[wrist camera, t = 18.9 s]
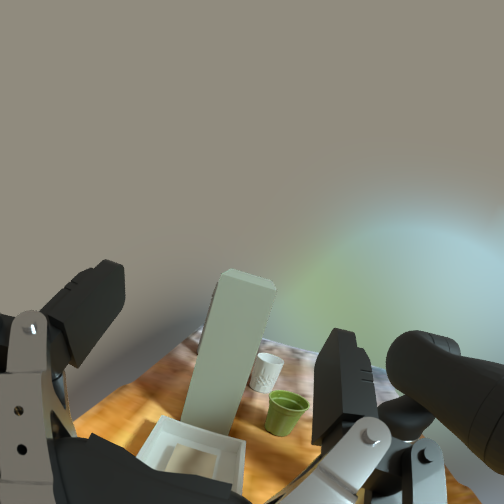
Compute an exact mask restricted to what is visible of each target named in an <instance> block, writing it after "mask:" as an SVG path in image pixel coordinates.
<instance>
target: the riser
mask: <svg viewBox="0 0 504 504" xmlns="http://www.w3.org/2000/svg"><path fill="white" fill-rule="evenodd" d="M276 292H277V289H276V288H275V285H274V283H273V281H272V280H269V279H265V278H262V277H259V276H255V275H252V274H249V273H246V272H242V271H239V270H236V269H233V268H232V269H230V270H228V271H226V272H224V273H222V274H221V276H220V280H219V283H218V286H217V290H216V293H215V297H214V300H213V304H212V307H211V310H210V314H209V317H208V321H207V324H206V328H205V332H204V335H203V339H202V342H201V346H200V349H199V353H198V357H197V360H196V364H195V367H194V371H193V375H192V378H191V382H190V386H189V390H188V393H187V397H186V401H185V405H184V408H183V412H182V416H181V420H180V422H183V423H186V424H189V425H192V426H195V427H198V428H201V429H205V430H208V431H211V432H215V433H218V434H222V435H225V436H228V434H229V431H230V429H231V426H232V423H233V420H234V418H235V415H236V412H237V409H238V406H239V404H240V401H241V398H242V395H243V392H244V389H245V387H246V384H247V381H248V378H249V375H250V372H251V369H252V366H253V363H254V360H255V357H256V354H257V351H258V348H259V345H260V342H261V339H262V336H263V333H264V330H265V327H266V324H267V321H268V318H269V315H270V312H271V309H272V305H273V302H274V299H275V296H276Z"/></svg>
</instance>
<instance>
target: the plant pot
mask: <svg viewBox="0 0 504 504" xmlns="http://www.w3.org/2000/svg"><path fill="white" fill-rule="evenodd" d="M269 399H270V400H269V409H268V414H267V418H266V423H265V428H266V430H267V431H270V432H271V433H272V434H273V435H276V436H287V435H288V434H290V432H291V431H292V429H293V428H294V426H295V425H296V423H297V422H298V420H299V418H300V417H301V415H302V414H304V412H305V411H306V410H308V409H309V407H310V404H309V402H308V401H307V400H306V399H305V398H303V397H302V396H300V395H298V394H295V393H292V392H289V391H284V390H275V391H272V392H270V393H269Z"/></svg>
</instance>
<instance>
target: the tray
mask: <svg viewBox="0 0 504 504" xmlns="http://www.w3.org/2000/svg"><path fill="white" fill-rule="evenodd" d="M177 443H178V444H181V445H184V446H187V447H190V448H193V449H197V450H200V451H203V452H206V453H210V454H213V455H217V458H216V463H215V467H214V471H213V476H212V479H214V480H218V481H222V482H226V483H231V484H232V489H231V491H234V492H236V493H238V494H239V495H241V496H242V487H243V475H244V462H245V449H246V441H245V440H241V439H237V438H233V437H229V436H225V435H222V434H218V433H215V432H211V431H208V430H205V429H201V428H198V427H195V426H192V425H189V424H186V423H183V422H180V421H177V420H175V419H172V418H169V417H166V416H164V415H162V416H161V417H160V419H159V420H158V422H157V424H156V425H155V427H154V429H153V430H152V432H151V433H150V435H149V437H148V438H147V440H146V442H145V443H144V445H143V446H142V448H141V450H140V451H139V453H138V454H137V456H136V458H138V459H139V460H141V461H142V462H144V463H145V464H146V465H148V466H149V467H151V468H153V469H155V470H158V471H165V469H166V467H167V464H168V462H169V460H170V458H171V456H172V454H173V451H174V449H175V447H176V445H177Z"/></svg>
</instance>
